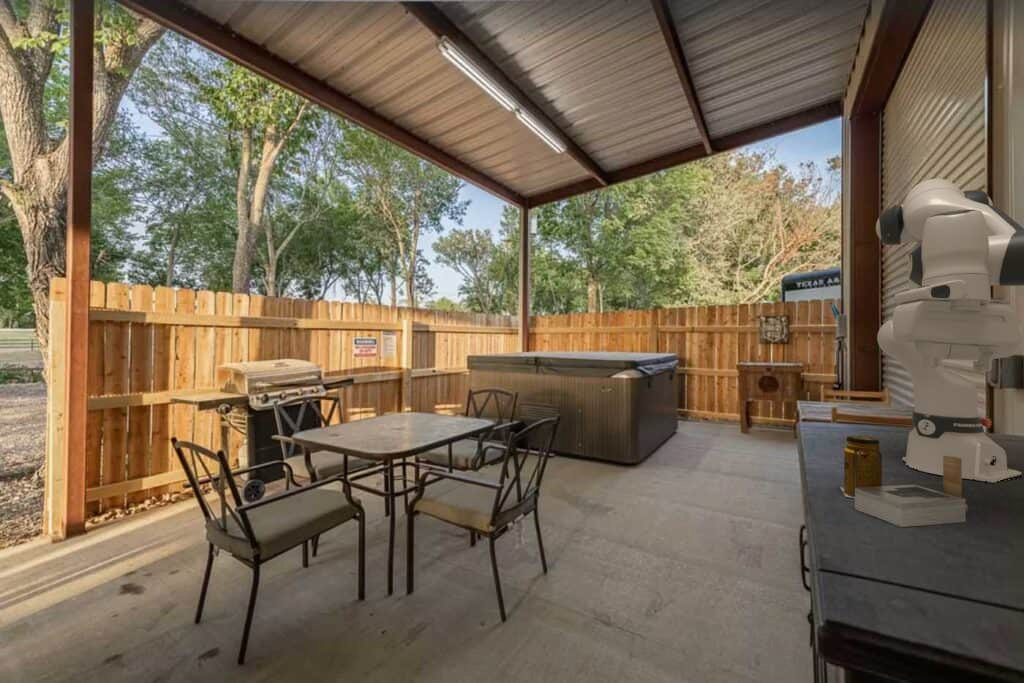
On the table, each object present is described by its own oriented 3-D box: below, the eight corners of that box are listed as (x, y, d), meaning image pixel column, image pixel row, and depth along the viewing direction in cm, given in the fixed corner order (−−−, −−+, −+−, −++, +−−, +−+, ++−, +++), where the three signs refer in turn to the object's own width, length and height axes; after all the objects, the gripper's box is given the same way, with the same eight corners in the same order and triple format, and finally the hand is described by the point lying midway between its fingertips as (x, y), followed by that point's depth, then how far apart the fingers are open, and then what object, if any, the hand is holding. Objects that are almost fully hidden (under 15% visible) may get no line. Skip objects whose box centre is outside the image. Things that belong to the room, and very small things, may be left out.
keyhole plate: (914, 504, 82) (914, 484, 82) (965, 521, 74) (965, 499, 74) (854, 509, 80) (854, 488, 80) (901, 527, 72) (901, 503, 72)
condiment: (839, 487, 92) (839, 432, 92) (890, 495, 88) (890, 437, 88) (845, 497, 86) (845, 438, 86) (900, 506, 82) (900, 444, 82)
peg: (947, 506, 82) (947, 454, 82) (973, 514, 78) (973, 460, 78) (931, 507, 81) (931, 455, 81) (957, 515, 77) (956, 460, 77)
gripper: (992, 301, 82) (994, 373, 80) (885, 294, 82) (886, 365, 81) (1032, 295, 75) (1035, 372, 74) (916, 288, 76) (917, 364, 74)
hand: (956, 369), depth 77 cm, fingers open, 8 cm apart
